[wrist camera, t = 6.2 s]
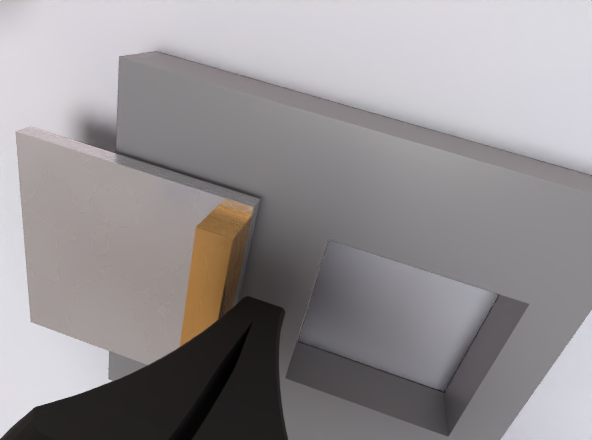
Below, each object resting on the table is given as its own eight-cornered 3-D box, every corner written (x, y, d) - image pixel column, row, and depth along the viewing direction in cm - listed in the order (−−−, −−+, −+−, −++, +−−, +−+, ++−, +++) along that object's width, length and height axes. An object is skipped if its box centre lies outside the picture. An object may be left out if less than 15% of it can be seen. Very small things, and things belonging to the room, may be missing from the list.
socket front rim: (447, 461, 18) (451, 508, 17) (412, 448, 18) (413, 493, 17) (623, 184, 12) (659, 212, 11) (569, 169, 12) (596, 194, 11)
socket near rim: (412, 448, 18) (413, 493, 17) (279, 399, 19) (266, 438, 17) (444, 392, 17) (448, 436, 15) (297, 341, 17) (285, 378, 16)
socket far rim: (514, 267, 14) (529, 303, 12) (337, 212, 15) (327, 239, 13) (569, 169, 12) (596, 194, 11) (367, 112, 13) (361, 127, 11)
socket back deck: (279, 399, 19) (266, 438, 17) (135, 346, 20) (108, 379, 18) (367, 112, 13) (361, 127, 11) (156, 51, 14) (118, 56, 12)
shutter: (222, 378, 16) (198, 425, 14) (42, 312, 17) (-3, 348, 15) (260, 198, 13) (234, 230, 11) (30, 126, 13) (-30, 144, 11)
